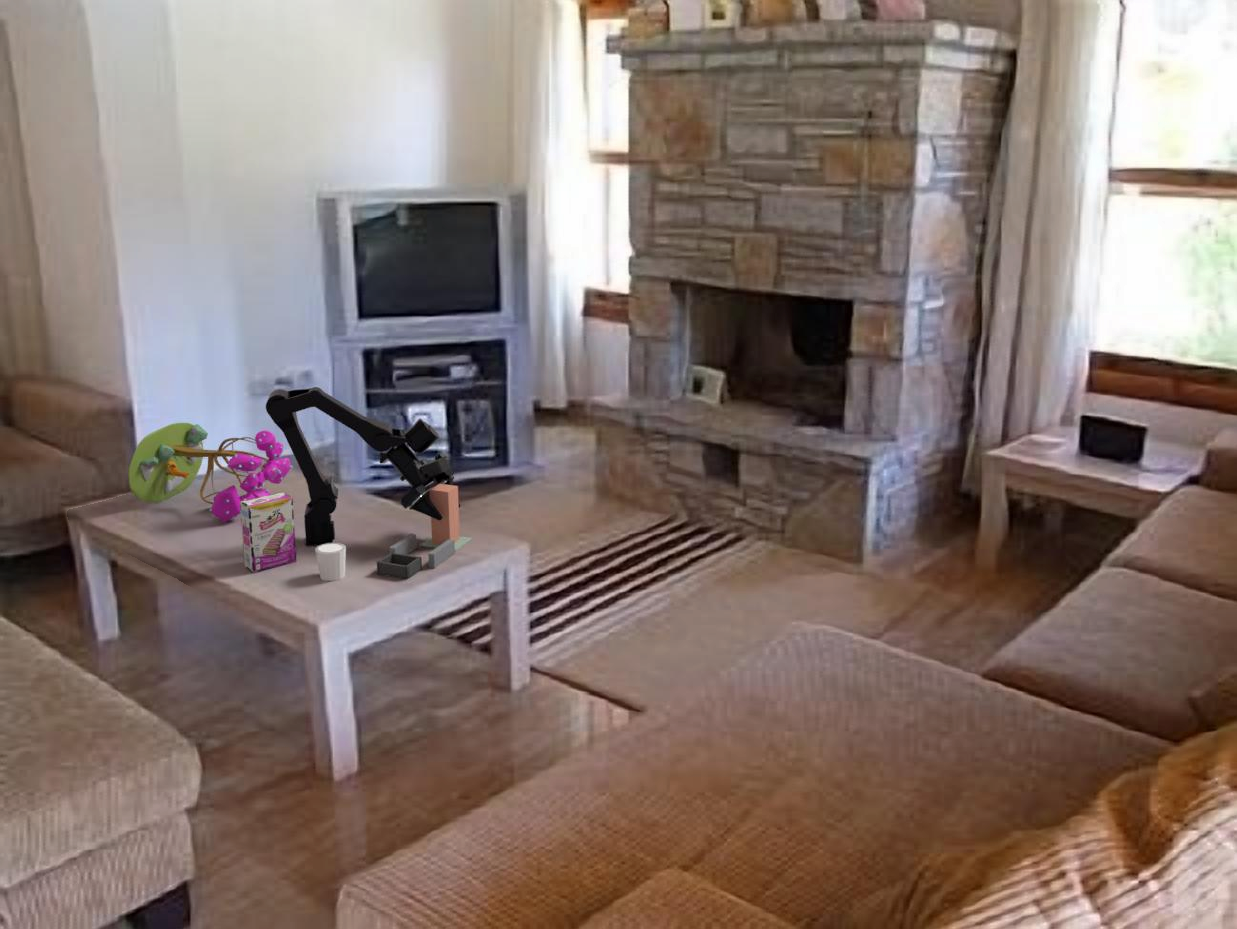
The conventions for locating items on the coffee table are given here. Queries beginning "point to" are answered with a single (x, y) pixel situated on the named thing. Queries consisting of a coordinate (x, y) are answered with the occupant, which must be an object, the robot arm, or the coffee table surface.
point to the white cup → (331, 561)
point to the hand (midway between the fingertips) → (450, 513)
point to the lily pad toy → (177, 457)
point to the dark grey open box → (399, 565)
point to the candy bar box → (268, 531)
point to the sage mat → (457, 544)
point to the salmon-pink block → (445, 513)
